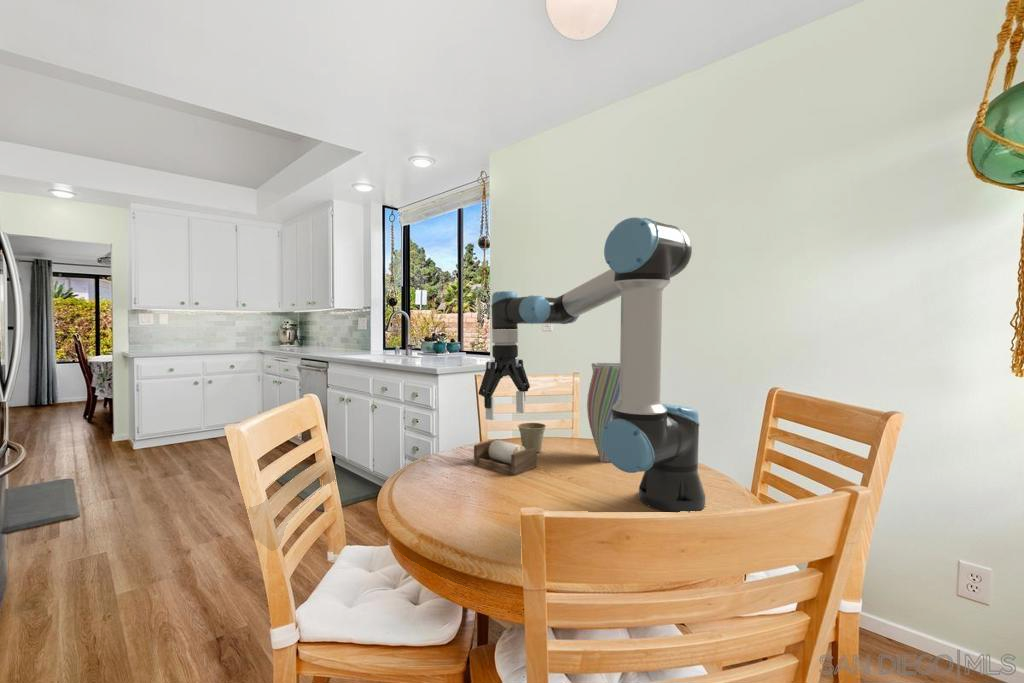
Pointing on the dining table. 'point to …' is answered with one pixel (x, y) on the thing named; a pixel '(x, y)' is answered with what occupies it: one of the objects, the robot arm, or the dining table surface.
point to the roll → (503, 450)
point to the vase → (602, 400)
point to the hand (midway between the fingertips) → (505, 416)
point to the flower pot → (532, 435)
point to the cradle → (518, 463)
